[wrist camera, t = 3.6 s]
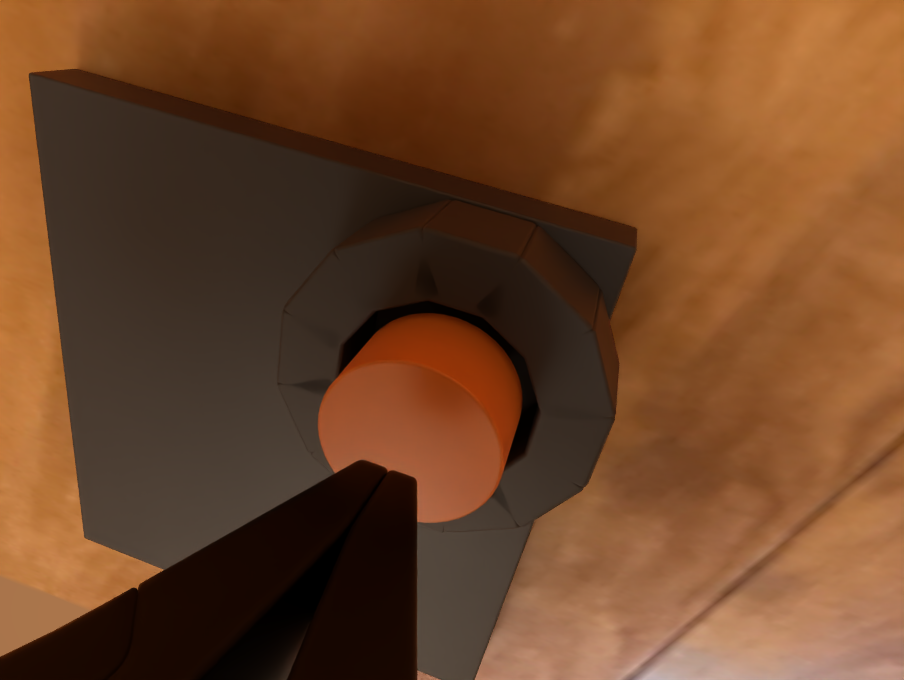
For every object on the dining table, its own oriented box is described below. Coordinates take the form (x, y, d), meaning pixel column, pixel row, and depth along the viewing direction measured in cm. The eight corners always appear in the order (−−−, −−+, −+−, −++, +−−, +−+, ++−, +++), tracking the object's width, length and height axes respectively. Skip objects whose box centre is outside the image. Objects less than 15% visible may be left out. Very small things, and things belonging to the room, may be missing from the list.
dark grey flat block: (494, 659, 18) (470, 766, 15) (112, 511, 20) (32, 585, 17) (662, 234, 12) (667, 296, 9) (75, 68, 13) (-64, 79, 11)
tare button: (499, 480, 12) (478, 548, 10) (350, 428, 12) (308, 486, 11) (544, 343, 10) (526, 399, 9) (372, 289, 11) (327, 333, 9)
